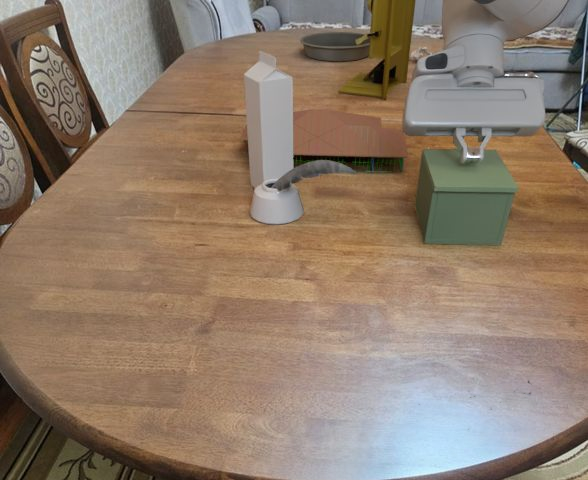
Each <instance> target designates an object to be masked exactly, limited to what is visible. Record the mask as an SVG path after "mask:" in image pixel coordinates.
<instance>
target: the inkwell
mask: <svg viewBox="0 0 588 480" xmlns="http://www.w3.org/2000/svg"><path fill="white" fill-rule="evenodd" d="M334 173H338V174H351V175H358V173H357V171H356V170H355V169H352V167H349V166H348V165H347V164H344V163H343V164H342V162H338V161H335V160H330V159H329V160H328V159H322V160H321V159H318V160H317V159H316V160H311V161H307V162H304V163H303V164H299V165H297V167H296V166H295V167H294V169H292V170H290V171H289V172H287V173H286V174H285V175H283V176H282V177H281V178H274V179H269V180H266V181H264V182H263V184H260V185H259V186H257V187H256V188H254V191H253V195H252V199H251V202H250V208H249V214H250V216H251V218H252V219H253V220H255V221H257V222H259V223H262V224H266V225H284V224H290V223H293V222H295V221H297V220H299V219H300V218H301V217H303V215H304V211H305V208H304V204H303V201H302V198H301V194H300V192H299V188H298V187H297V186H296V185H295V184H297V183H300V182H301V181H302V180H303V179H304V178H305V179H313V178H318V177H321V175H329V174H334ZM292 183H294V185H293V184H292Z"/></svg>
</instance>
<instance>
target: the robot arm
mask: <svg viewBox="0 0 588 480" xmlns="http://www.w3.org/2000/svg"><path fill="white" fill-rule="evenodd" d="M569 1H570V0H442V4H441V5H442V6H441V35H442V39H443V47H442V50H441V51H438V52H435V53H433V54H432V55H428V54H427V55H425V56H424V57H422V56H421V58H420V59H419V60H417V61H416V63H415V64H414V65H415V66H414V67H413V70H412V74H411V78H410V84H409V87H408V91H407V94H406V97H405V101H404V105H403V106H404V107H403V111H402V116H401V117H402V118H401V130H403V132H404V134H405V136H406V137H452V144H453V145H454V146H455V149H457V150H458V151H459V153H460V162H461V164H471V163H474V164H481V163H482V161H483V158H484V150H485V148H486V146H487V144H489V143H488V142H489V141H490V139H491V138H492V137H533V136H535V135H536V134H537V133H538V132H539V131H540V130H541V129H542V127H543V126H544V125H545V122H546V117H547V116H546V106H545V99H544V95H545V82H544V81H545V80H544V79H543V77H541V76H539V75H537V74H535V72H534V71H509V70H508V71H507V70H506V71H505V68H504V65H505V64H504V60H505V59H504V58H505V57H504V56H505V55H504V52H505V51H504V49H505V48H504V47H505V46H504V45H505V42H506V43H507V42H513V41H516V40H520V39H522V38H525V37H528V36H530V35H532V34H535V33H537V32H539V31H542V30H544V29H546V28H547V27H548V26H550V25H551V24H553V23H554V22H555V21H556V20H557V19H559V17H560V16H561V14H562V13H563V12H564V10H565V9H566V7H567V5H568V3H569ZM465 137H477V143H480V144H479V147H469V146H468V145H467V143H466V141H465V140H464V139H465Z"/></svg>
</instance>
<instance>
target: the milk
mask: <svg viewBox="0 0 588 480" xmlns="http://www.w3.org/2000/svg"><path fill="white" fill-rule="evenodd" d="M243 83H244V84H243V85H244V99H245V100H244V101H245V117H246V125H247V134H248V142H247V147H248V148H247V149H248V150H247V151H248V165H249V181H250V186H252V188H254V189H255V188H256V187H257V186H259V185H260V184H263V182H264V181H266V180H269V179H274V178H281V177H282V176H283V175H285V174H286V173H287V172H289V171H290V170H292V169H294V168H295V167H294V166H295V165H294V161H293V160H294V159H293V158H294V156H293V112H294V77H292V76H291V75H289V74H287V73H285V72H284V71H282V70H280V69H278V68H277V59H276V57H275V56H273V55H272V54H269V53H266V52H264V51H262V50H259V51H258V61H257V62H256V63H255V64H254V65H252V66H251V67H250V68H249V69H248V70H247V71H246V72H245V73H244V74H243ZM292 184H293V185H295V183H292Z"/></svg>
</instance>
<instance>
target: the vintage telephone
mask: <svg viewBox="0 0 588 480" xmlns="http://www.w3.org/2000/svg"><path fill="white" fill-rule="evenodd" d="M366 6H367V10H368V11H369V12H370V14H371V17H370V29H369V30H370V32H368V33H366V35H364V36H363V37H362V38H359V39H356V40H355V41H356V44H357V45H358V44H360V43H361V42H362V41H363V40H366V39H368V38H369V36H370V45H369V56H368V57H369V59H376V60H381V61H380V62H378V63H377V64H376V65H375V66H374V67H373V69H371V70H370V71H369V72H359V73H358V74H356V75H355V76H353V77H352V78H350V79H349V80H347V81H346V82H345V83H343V85H342V87H341V88H340V89H339V90H338V93H339V94H344V95H352V96H360V95H361V96H362V97H369V98H377V99H378V98H379V99H381V100H382V101H387V99H388V94H389V93H390V92H391V91H393V90H394V89H395V88H396V87H397V86H398V85H400V84H407V81H408V72H409V71H408V70H409V62H410V55H411V44H412V36H413V29H414V28H413V26H414V18H415V10H416V9H415V7H416V0H366ZM361 96H360V97H361Z"/></svg>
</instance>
